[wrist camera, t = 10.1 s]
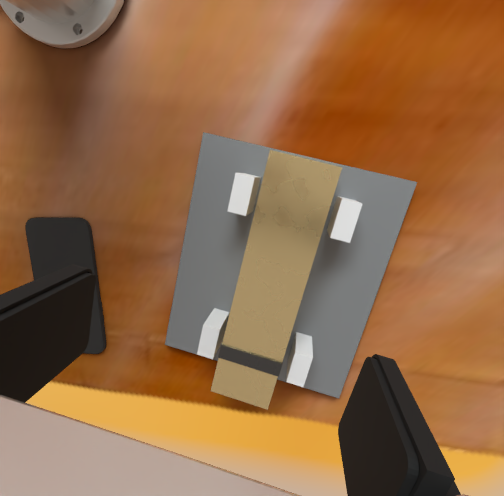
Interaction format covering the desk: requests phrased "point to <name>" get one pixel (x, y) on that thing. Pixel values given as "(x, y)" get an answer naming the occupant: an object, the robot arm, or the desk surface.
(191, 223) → the peg plate
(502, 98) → the desk surface
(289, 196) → the tan long bar
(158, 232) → the desk surface
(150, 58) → the desk surface
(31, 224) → the phone
